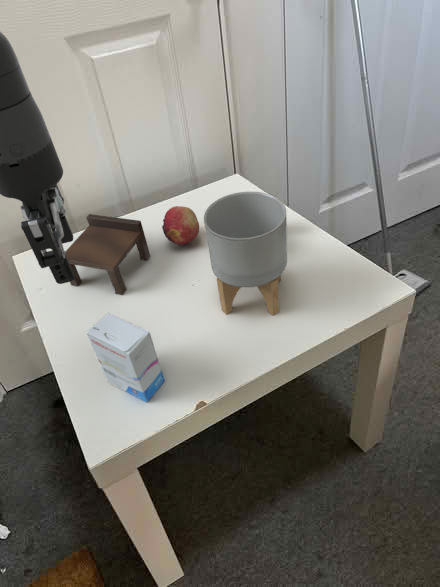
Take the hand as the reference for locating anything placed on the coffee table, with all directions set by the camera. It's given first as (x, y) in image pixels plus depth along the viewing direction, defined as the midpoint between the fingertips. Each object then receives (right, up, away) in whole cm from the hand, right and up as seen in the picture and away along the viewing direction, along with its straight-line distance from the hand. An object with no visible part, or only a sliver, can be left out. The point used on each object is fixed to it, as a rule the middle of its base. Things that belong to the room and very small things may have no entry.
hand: (66, 260), depth 60 cm
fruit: (+12, +7, +38) cm, 41 cm away
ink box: (+7, -18, +13) cm, 24 cm away
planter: (+26, -5, +24) cm, 36 cm away
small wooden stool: (-2, 0, +34) cm, 34 cm away
